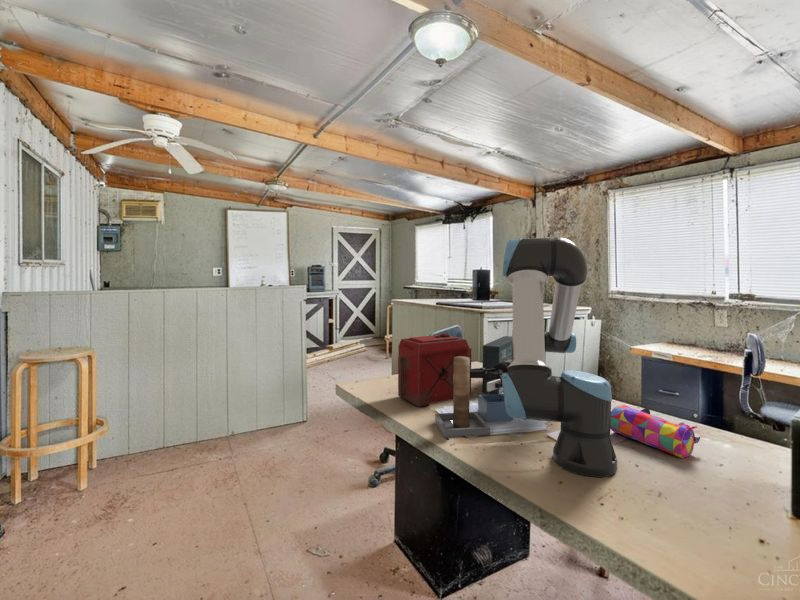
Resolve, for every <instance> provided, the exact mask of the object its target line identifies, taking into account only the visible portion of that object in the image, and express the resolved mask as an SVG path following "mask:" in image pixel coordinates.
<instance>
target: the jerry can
mask: <svg viewBox="0 0 800 600" xmlns="http://www.w3.org/2000/svg"><path fill="white" fill-rule="evenodd" d="M397 350H398V353H397V356H398V357H397V361H398V362H397V369H398V370H397V376H398V377H397V384H398V385H397V390H398V391H397V395H398V397H400V398H403V400H406V401H408V402H409V403H411V404H413V405H414V406H416V407H419V408H421V407H426V406H427V407H428V406H430V404H434V403H435V404H436V403H439V402H444V401H449V400H453V388H454V382H453V374H454V357H458V356H463V357H469V358H470V369H472V347H470V345H469V343H468V340H467V339H466V338H462V337H457V336H452V335H451V334H450V333H439V334H436V335H435V334H434V335H424V336H412V337H408V338H401V339H400V341H399V343H398V349H397ZM471 394H472V378H470V395H471Z"/></svg>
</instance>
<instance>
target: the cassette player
mask: <svg viewBox="0 0 800 600" xmlns="http://www.w3.org/2000/svg"><path fill="white" fill-rule="evenodd" d="M511 359H512V335H510V336H509V335H504V336H501V337H499V338H497V339H495V340H492V341H489V342H487V343H485V344H483V345H482V368H483V367H485V368H486V369H491V368H494V366H495V365H496V364H497V363H500V362H504V361H507V360H511ZM486 377H487V374H486ZM491 381H494V380H491V379H484V378H482V386H481V387H482V392H483V394H488V393H489V394H488V395H490V394H503V388H502V387H501V388H498V389H495V390H492V391H490V392H488V391H487V383H488V382H491Z"/></svg>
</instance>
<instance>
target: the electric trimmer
mask: <svg viewBox="0 0 800 600" xmlns="http://www.w3.org/2000/svg"><path fill="white" fill-rule="evenodd" d="M640 411H642V412H645V413H647V414H650V415H651V411H650V408H649V407H645V408H643V409H641V410H640Z"/></svg>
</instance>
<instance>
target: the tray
mask: <svg viewBox="0 0 800 600" xmlns="http://www.w3.org/2000/svg"><path fill="white" fill-rule="evenodd" d="M450 420H453V412H444V413H434V423H435V425H436V427H437V429H438V430H439V432H440V434H441V437H442V438H443V440H444V441H450V438H451V437H468V436H469V437H470V436H471V437H472V436H488V435H491V427H490V426H489V425H488V424H487V422H485V419H484V418H483V417H482V416H481V415H480V414H478V411H477V412H476V411H469V428H454V427H453V424H452V423H451V421H450Z"/></svg>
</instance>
